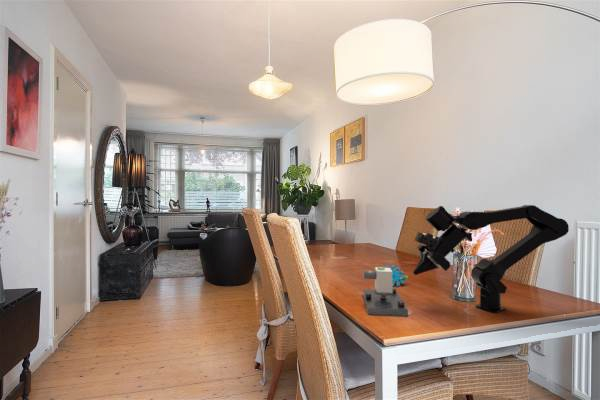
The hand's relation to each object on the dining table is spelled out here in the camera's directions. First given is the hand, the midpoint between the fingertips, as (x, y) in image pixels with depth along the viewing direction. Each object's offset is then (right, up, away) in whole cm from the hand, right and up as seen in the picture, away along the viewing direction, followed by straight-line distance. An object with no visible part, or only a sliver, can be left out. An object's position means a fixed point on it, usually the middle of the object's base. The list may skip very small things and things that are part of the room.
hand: (414, 273), depth 105 cm
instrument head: (-12, -7, +1) cm, 14 cm away
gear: (+1, -11, +26) cm, 28 cm away
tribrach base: (-10, -11, +1) cm, 15 cm away
